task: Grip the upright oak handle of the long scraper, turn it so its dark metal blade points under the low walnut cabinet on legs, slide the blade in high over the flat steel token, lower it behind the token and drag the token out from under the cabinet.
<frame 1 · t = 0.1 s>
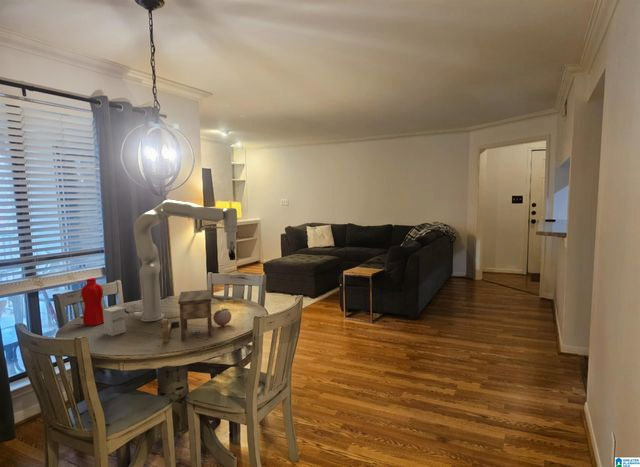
hand: (232, 258, 230), 31 cm above the table, tool pointing down, fingers open, 9 cm apart
water bottle: (93, 323, 215), on the table
supplement box: (115, 333, 199), on the table
decorative fruit: (223, 326, 206), on the table
cabinet: (197, 332, 198), on the table
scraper: (166, 341, 186), on the table
token: (195, 333, 197), on the table
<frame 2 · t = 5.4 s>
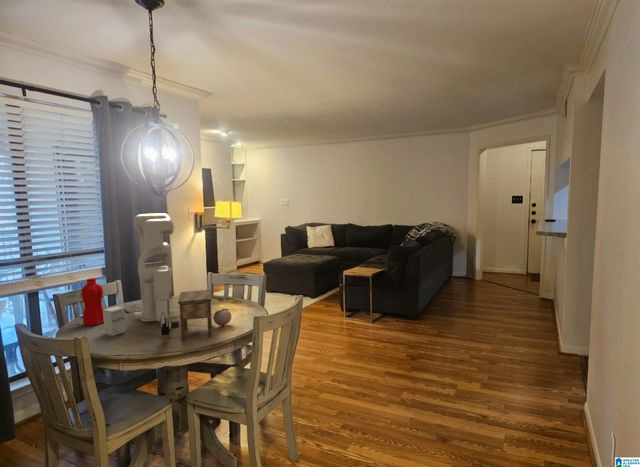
hand: (165, 333, 186), 4 cm above the table, tool pointing down, fingers closed on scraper
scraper: (166, 341, 186), on the table, touching gripper
everything else where it was.
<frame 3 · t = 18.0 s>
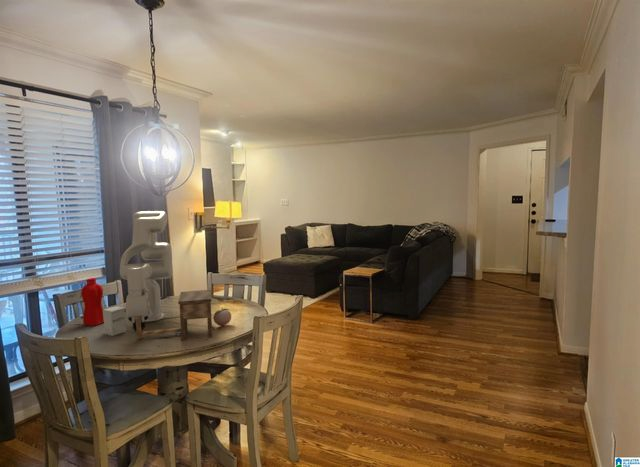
hand: (139, 329, 190), 5 cm above the table, tool pointing down, fingers closed on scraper
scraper: (139, 338, 191), on the table, touching gripper
token: (179, 334, 196), on the table
everything else where it was.
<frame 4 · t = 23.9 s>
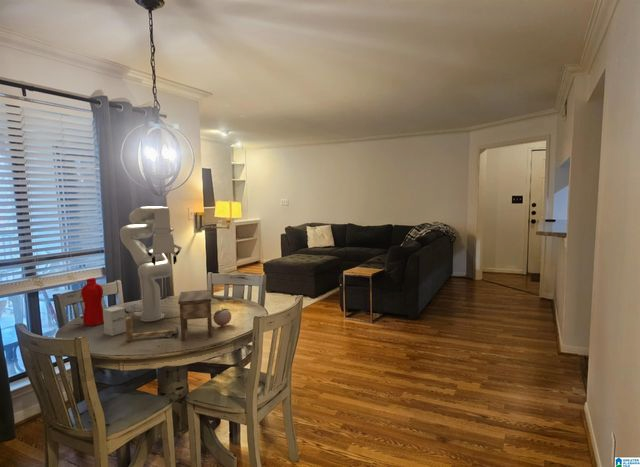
hand: (164, 264, 204), 33 cm above the table, tool pointing down, fingers open, 9 cm apart
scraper: (130, 339, 189), on the table
token: (170, 336, 194), on the table
everything else where it was.
at the end: token inside the target area (5.9 cm from its centre), on the table; token moved 11.8 cm from its start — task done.
